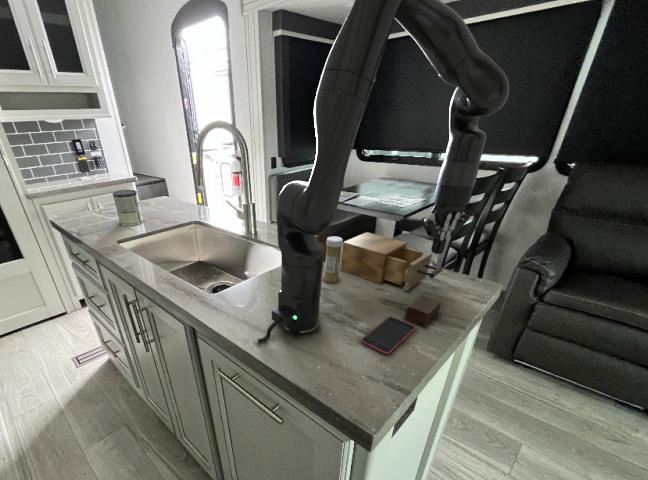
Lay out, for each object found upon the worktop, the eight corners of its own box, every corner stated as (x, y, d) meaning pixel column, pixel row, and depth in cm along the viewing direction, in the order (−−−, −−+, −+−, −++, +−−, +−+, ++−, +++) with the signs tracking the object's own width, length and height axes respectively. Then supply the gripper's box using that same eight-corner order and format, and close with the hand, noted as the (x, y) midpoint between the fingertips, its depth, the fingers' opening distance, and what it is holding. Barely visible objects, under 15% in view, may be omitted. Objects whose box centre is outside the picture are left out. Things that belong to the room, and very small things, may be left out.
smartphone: (359, 339, 73) (389, 315, 81) (359, 341, 73) (389, 317, 81) (388, 354, 68) (417, 326, 77) (387, 356, 69) (416, 328, 77)
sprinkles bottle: (341, 280, 100) (346, 239, 93) (330, 284, 97) (334, 242, 91) (331, 275, 103) (335, 234, 96) (320, 278, 101) (323, 237, 94)
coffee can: (117, 222, 154) (109, 191, 147) (138, 218, 160) (132, 188, 153) (124, 227, 148) (116, 195, 140) (146, 222, 153) (139, 192, 146)
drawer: (442, 281, 97) (449, 257, 93) (424, 295, 89) (431, 270, 85) (386, 263, 108) (390, 241, 104) (366, 275, 101) (370, 252, 97)
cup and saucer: (338, 263, 111) (339, 246, 108) (303, 259, 114) (304, 243, 111) (340, 250, 121) (342, 234, 118) (309, 247, 124) (310, 232, 120)
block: (437, 315, 83) (441, 301, 80) (424, 327, 78) (428, 314, 76) (418, 307, 86) (422, 294, 84) (404, 319, 81) (407, 306, 79)
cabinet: (401, 270, 106) (407, 242, 101) (380, 284, 98) (385, 254, 93) (362, 258, 115) (366, 232, 110) (340, 269, 107) (343, 242, 102)
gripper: (464, 177, 78) (445, 244, 87) (420, 180, 74) (405, 251, 83) (492, 182, 72) (468, 254, 81) (445, 186, 68) (426, 262, 77)
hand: (436, 252), depth 82 cm, fingers closed
